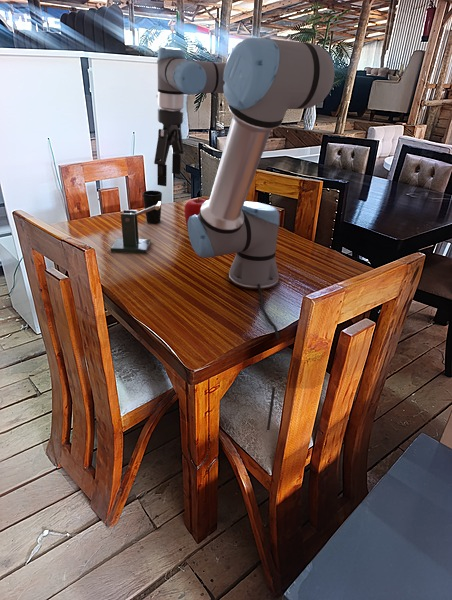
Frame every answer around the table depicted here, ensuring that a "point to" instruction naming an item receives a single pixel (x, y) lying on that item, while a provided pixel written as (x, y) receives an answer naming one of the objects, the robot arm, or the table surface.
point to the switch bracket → (130, 236)
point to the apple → (192, 208)
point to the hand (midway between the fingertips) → (169, 179)
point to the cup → (149, 201)
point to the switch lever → (148, 209)
